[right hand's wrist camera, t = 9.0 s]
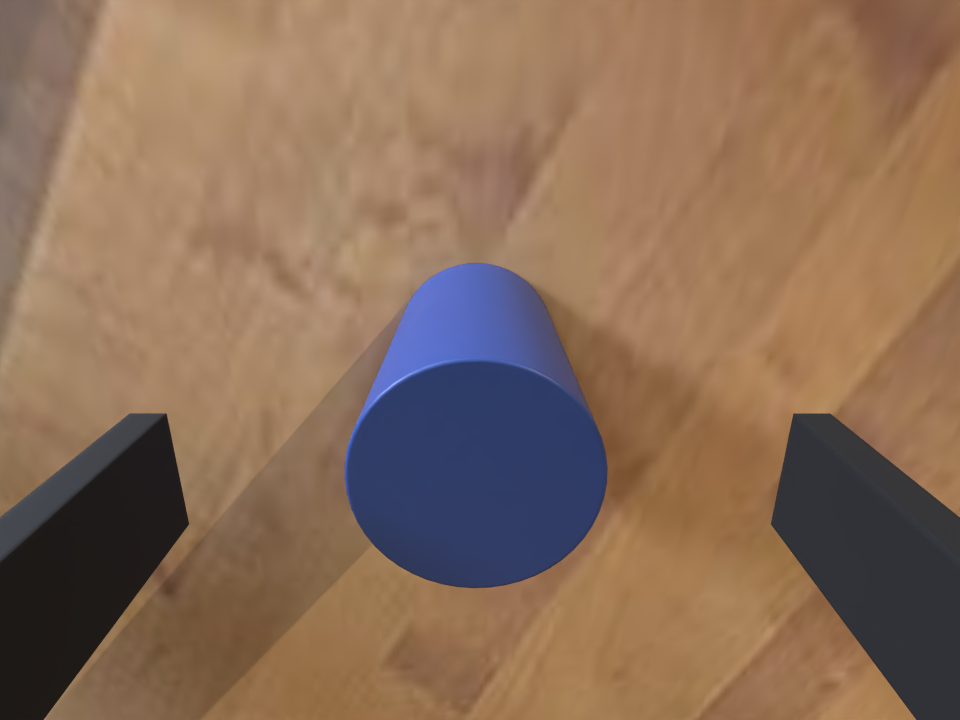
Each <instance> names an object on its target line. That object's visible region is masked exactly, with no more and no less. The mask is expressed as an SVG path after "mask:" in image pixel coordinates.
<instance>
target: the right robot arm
mask: <svg viewBox="0 0 960 720" xmlns="http://www.w3.org/2000/svg"><path fill="white" fill-rule="evenodd" d="M188 525H189V522H188V517H187V512H186V507H185V502H184V497H183V492H182V487H181V482H180V477H179V473H178V468H177V463H176V458H175V453H174V448H173V443H172V438H171V433H170V428H169V424H168V419H167V414H129V415H128V416H126V417H125V418H124V419H123V420H121V421H120V422H119V423H118V424H116V425H115V426H114V427H113V428H111V429H110V430H109V431H108V432H106V433H105V434H104V435H103V436H101V437H100V438H99V439H98V440H96V441H95V442H94V443H93V444H91V445H90V446H89V447H88V448H86V449H85V450H84V451H83V452H81V453H80V454H79V455H78V456H76V457H75V458H74V459H73V460H71V461H70V462H69V463H68V464H66V465H65V466H64V467H63V468H61V469H60V470H59V471H58V472H56V473H55V474H54V475H53V476H51V477H50V478H49V479H48V480H46V481H45V482H44V483H43V484H41V485H40V486H39V487H38V488H36V489H35V490H34V491H33V492H31V493H30V494H29V495H28V496H27V497H25V498H24V499H23V500H22V501H20V502H19V503H18V504H17V505H15V506H14V507H13V508H12V509H10V510H9V511H8V512H7V513H5V514H4V515H3V516H2V517H0V720H44V718H45V717H46V716H47V714H48V713H49V712H50V710H51V709H52V708H53V706H54V705H55V704H56V702H57V701H58V700H59V698H60V697H61V696H62V694H63V693H64V692H65V690H66V689H67V687H68V686H69V685H70V683H71V682H72V681H73V679H74V678H75V677H76V675H77V674H78V673H79V671H80V670H81V669H82V667H83V666H84V665H85V663H86V662H87V661H88V659H89V658H90V657H91V655H92V654H93V653H94V651H95V650H96V649H97V647H98V646H99V644H100V643H101V642H102V640H103V639H104V638H105V636H106V635H107V634H108V632H109V631H110V630H111V628H112V627H113V626H114V624H115V623H116V622H117V620H118V619H119V618H120V616H121V615H122V614H123V612H124V611H125V610H126V608H127V607H128V605H129V604H130V603H131V601H132V600H133V599H134V597H135V596H136V595H137V593H138V592H139V591H140V589H141V588H142V587H143V585H144V584H145V583H146V581H147V580H148V579H149V577H150V576H151V575H152V573H153V572H154V571H155V569H156V568H157V567H158V565H159V564H160V562H161V561H162V560H163V558H164V557H165V556H166V554H167V553H168V552H169V550H170V549H171V548H172V546H173V545H174V544H175V542H176V541H177V540H178V538H179V537H180V536H181V534H182V533H183V532H184V530H185V529H186V528H187V526H188ZM771 525H772V526H773V528H774V529H775V530H776V532H777V533H778V534H779V536H780V537H781V538H782V540H783V541H784V542H785V544H786V545H787V546H788V548H789V549H790V550H791V552H792V553H793V554H794V556H795V557H796V558H797V560H798V561H799V562H800V564H801V565H802V567H803V568H804V569H805V571H806V572H807V573H808V575H809V576H810V577H811V579H812V580H813V581H814V583H815V584H816V585H817V587H818V588H819V589H820V591H821V592H822V593H823V595H824V596H825V597H826V599H827V600H828V601H829V603H830V604H831V606H832V607H833V608H834V610H835V611H836V612H837V614H838V615H839V616H840V618H841V619H842V620H843V622H844V623H845V624H846V626H847V627H848V628H849V630H850V631H851V632H852V634H853V635H854V636H855V638H856V639H857V640H858V642H859V643H860V644H861V646H862V647H863V649H864V650H865V651H866V653H867V654H868V655H869V657H870V658H871V659H872V661H873V662H874V663H875V665H876V666H877V667H878V669H879V670H880V671H881V673H882V674H883V675H884V677H885V678H886V679H887V681H888V682H889V683H890V685H891V686H892V687H893V689H894V690H895V692H896V693H897V694H898V696H899V697H900V698H901V700H902V701H903V702H904V704H905V705H906V706H907V708H908V709H909V710H910V712H911V713H912V714H913V716H914V717H915V718H916V720H960V517H958V516H957V515H956V514H955V513H953V512H952V511H951V510H950V509H948V508H947V507H946V506H945V505H943V504H942V503H941V502H940V501H938V500H937V499H936V498H935V497H933V496H932V495H931V494H930V493H929V492H927V491H926V490H925V489H924V488H922V487H921V486H920V485H919V484H917V483H916V482H915V481H914V480H912V479H911V478H910V477H909V476H907V475H906V474H905V473H904V472H902V471H901V470H900V469H899V468H897V467H896V466H895V465H894V464H892V463H891V462H890V461H889V460H887V459H886V458H885V457H884V456H882V455H881V454H880V453H879V452H877V451H876V450H875V449H874V448H872V447H871V446H870V445H869V444H867V443H866V442H865V441H864V440H862V439H861V438H860V437H859V436H857V435H856V434H855V433H854V432H852V431H851V430H850V429H849V428H847V427H846V426H845V425H844V424H842V423H841V422H840V421H839V420H837V419H836V418H835V417H834V416H832V415H831V414H793V419H792V424H791V428H790V433H789V438H788V443H787V448H786V453H785V458H784V463H783V468H782V473H781V477H780V482H779V487H778V492H777V497H776V502H775V507H774V512H773V517H772V522H771Z"/></svg>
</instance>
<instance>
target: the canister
mask: <svg viewBox="0 0 960 720" xmlns="http://www.w3.org/2000/svg"><path fill="white" fill-rule="evenodd" d="M345 484H346V491H347V495H348V499H349V502H350V506H351V509H352V511H353V513H354V515H355V518H356V520H357V522H358V524H359V525H360V527H361V528H362V530H363V532H364V533H365V535H366V536H367V537H368V538H369V540H370V541H371V542H372V543H373V544H374V546H375V547H376V548H377V549H378V550H379V551H381V552H382V553H383V554H384V555H385V556H386V557H387V558H388V559H390V560H391V561H393V562H394V563H395V564H397V565H398V566H400V567H401V568H403V569H405V570H407V571H409V572H410V573H412V574H415V575H417V576H419V577H422V578H424V579H427V580H430V581H433V582H437V583H440V584H444V585H450V586H455V587H466V588H487V587H496V586H503V585H508V584H511V583H515V582H519V581H522V580H525V579H528V578H530V577H533V576H535V575H537V574H539V573H541V572H543V571H545V570H547V569H549V568H551V567H552V566H553V565H555V564H556V563H558V562H559V561H561V560H562V559H563V558H565V557H566V556H567V555H568V554H569V553H570V552H572V551H573V550H574V549H575V548H576V546H577V545H578V544H579V543H580V542H581V541H582V540H583V539H584V537H585V536H586V534H587V533H588V531H589V530H590V528H591V527H592V525H593V523H594V521H595V519H596V517H597V515H598V513H599V511H600V508H601V505H602V502H603V499H604V496H605V490H606V485H607V460H606V452H605V448H604V444H603V441H602V437H601V435H600V433H599V430H598V428H597V425H596V423H595V421H594V418H593V416H592V414H591V411H590V409H589V407H588V404H587V402H586V400H585V397H584V395H583V393H582V390H581V388H580V386H579V383H578V381H577V379H576V376H575V374H574V372H573V369H572V367H571V365H570V362H569V360H568V358H567V355H566V353H565V351H564V348H563V346H562V344H561V341H560V339H559V336H558V334H557V332H556V329H555V327H554V325H553V322H552V320H551V318H550V315H549V313H548V311H547V309H546V306H545V304H544V302H543V300H542V299H541V297H540V296H539V294H538V293H537V292H536V291H535V289H534V288H533V287H532V286H531V285H530V284H529V283H528V282H527V281H525V280H524V279H523V278H521V277H520V276H518V275H517V274H515V273H513V272H511V271H509V270H507V269H504V268H502V267H499V266H494V265H490V264H481V263H473V264H463V265H458V266H455V267H451V268H448V269H446V270H444V271H442V272H440V273H438V274H436V275H435V276H433V277H431V278H430V279H429V280H428V281H426V282H425V283H424V284H423V285H422V286H421V287H420V288H419V289H418V290H417V292H416V293H415V294H414V296H413V297H412V299H411V300H410V302H409V304H408V306H407V308H406V310H405V313H404V315H403V317H402V319H401V322H400V324H399V326H398V329H397V331H396V333H395V336H394V338H393V340H392V342H391V345H390V347H389V349H388V352H387V354H386V356H385V359H384V361H383V363H382V366H381V368H380V370H379V372H378V375H377V377H376V379H375V382H374V384H373V386H372V389H371V391H370V393H369V395H368V398H367V400H366V402H365V405H364V407H363V409H362V412H361V414H360V416H359V418H358V421H357V423H356V425H355V428H354V430H353V432H352V435H351V438H350V441H349V444H348V447H347V453H346V459H345Z"/></svg>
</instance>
